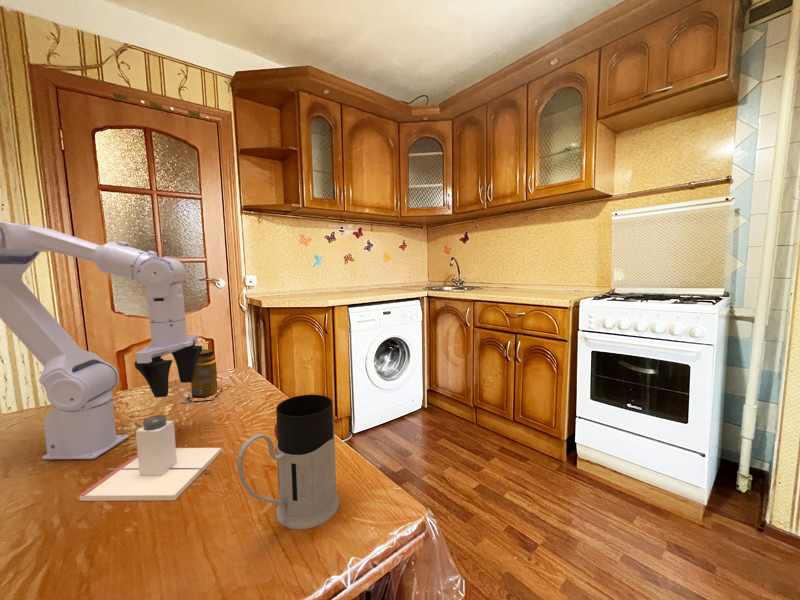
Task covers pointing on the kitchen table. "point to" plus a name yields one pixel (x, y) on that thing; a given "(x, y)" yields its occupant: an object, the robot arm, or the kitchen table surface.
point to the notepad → (152, 478)
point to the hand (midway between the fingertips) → (174, 388)
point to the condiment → (204, 376)
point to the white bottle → (156, 446)
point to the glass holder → (302, 462)
